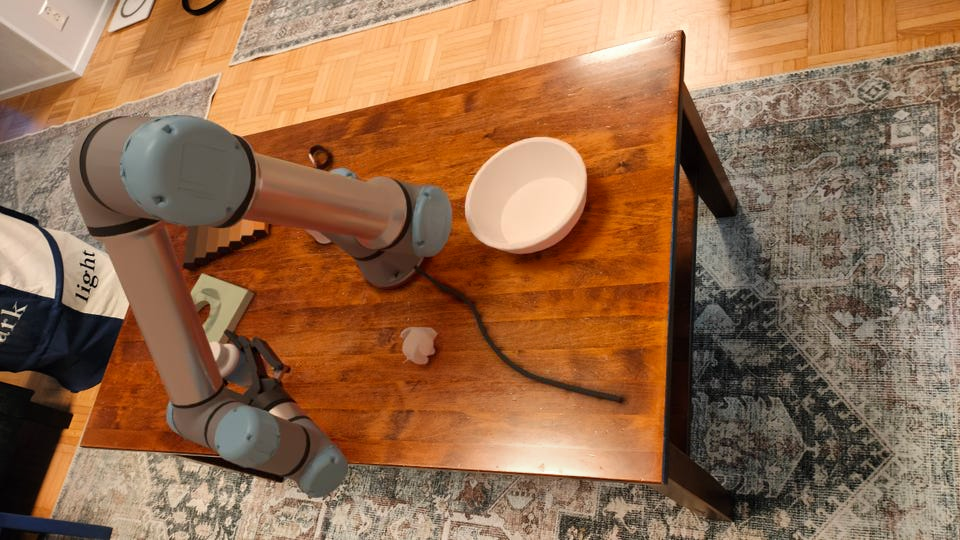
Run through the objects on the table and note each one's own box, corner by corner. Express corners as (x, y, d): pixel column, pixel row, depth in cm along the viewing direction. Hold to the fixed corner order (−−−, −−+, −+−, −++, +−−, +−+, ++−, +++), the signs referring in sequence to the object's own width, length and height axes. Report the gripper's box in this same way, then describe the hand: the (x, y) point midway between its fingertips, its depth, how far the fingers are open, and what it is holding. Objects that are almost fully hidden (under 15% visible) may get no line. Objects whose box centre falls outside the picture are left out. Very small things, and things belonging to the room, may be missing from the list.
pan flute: (199, 192, 173) (189, 271, 159) (189, 185, 170) (178, 265, 156) (274, 154, 165) (270, 234, 151) (264, 146, 162) (260, 226, 149)
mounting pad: (254, 293, 144) (248, 290, 143) (212, 368, 140) (205, 365, 138) (208, 276, 155) (201, 273, 153) (167, 346, 150) (160, 343, 148)
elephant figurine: (453, 342, 115) (436, 329, 110) (426, 379, 114) (408, 368, 109) (429, 324, 119) (411, 311, 114) (402, 361, 118) (384, 349, 113)
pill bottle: (275, 365, 120) (229, 344, 111) (257, 395, 118) (209, 376, 110) (257, 353, 123) (210, 332, 114) (239, 382, 122) (191, 363, 113)
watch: (311, 157, 157) (301, 148, 154) (326, 145, 157) (317, 136, 154) (320, 176, 153) (310, 167, 150) (335, 163, 152) (326, 154, 149)
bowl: (512, 158, 128) (494, 131, 121) (619, 169, 115) (605, 141, 108) (466, 259, 122) (444, 237, 115) (574, 283, 109) (556, 260, 102)
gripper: (258, 474, 107) (200, 397, 121) (331, 378, 109) (266, 314, 123) (223, 465, 101) (167, 385, 115) (301, 364, 103) (236, 297, 117)
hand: (218, 348), depth 119 cm, fingers closed on pill bottle, 6 cm apart
